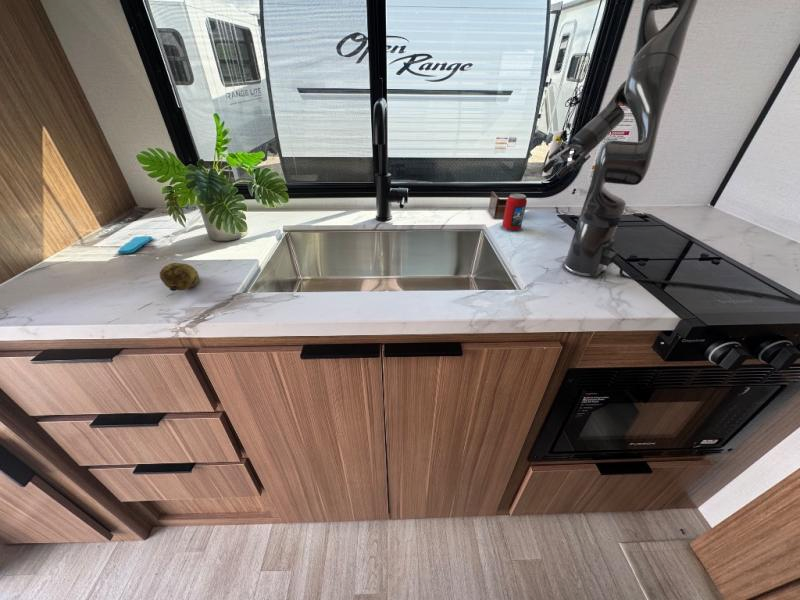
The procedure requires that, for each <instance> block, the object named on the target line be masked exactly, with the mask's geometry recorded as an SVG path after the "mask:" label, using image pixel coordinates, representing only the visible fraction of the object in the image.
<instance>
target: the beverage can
mask: <svg viewBox="0 0 800 600" xmlns="http://www.w3.org/2000/svg"><path fill="white" fill-rule="evenodd" d="M506 199H507V202H506V208H505V213H504V218H503V219H502V224H501V226H502V227H503V229H504V230H506V231H512V232H514V231H518V230H520V229H521V228H522V225H523V220H524V217H525V211H526V207H527V203H528V200H527V195H525V194H523V193H517V192H516V193H515V192H514V193H510V194H509V196H508V197H507V198H506Z"/></svg>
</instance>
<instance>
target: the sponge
mask: <svg viewBox="0 0 800 600" xmlns="http://www.w3.org/2000/svg"><path fill="white" fill-rule="evenodd" d="M152 240H153V236H150V235H149V236H148V235H145V236H135V237H133V238H132V239H130V240H129V241H128V242H126V243H125V244H123V245H122V246H120V248H119V249H118V251H117V252H118V254H119V255H122V254H123V255H124V254H133V253H135V252H136V251H137V250H139V249H140V248H142V247H143V246H145V244H148V243H149V242H150V241H152Z"/></svg>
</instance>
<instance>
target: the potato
mask: <svg viewBox="0 0 800 600" xmlns="http://www.w3.org/2000/svg"><path fill="white" fill-rule="evenodd" d="M159 278H160V281H161V282H162V283H163V285H165V287H167V288H168V289H169V290H170V291H171V292H176V291H186V290H187V289H190V288H193V287H195V286H196V285H197V284H198V283H199V279H200V276H199V272H198V271H197V269H196V268H194V267H193V266H192V265H190V264H188V263H181V262H171V263H168V264H166V265H164V266H163V267H162V269H160V271H159Z"/></svg>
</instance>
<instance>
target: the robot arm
mask: <svg viewBox="0 0 800 600" xmlns="http://www.w3.org/2000/svg"><path fill="white" fill-rule="evenodd" d="M698 2H699V0H642V4H641V9H640V14H639V18H638V27H637V32H636V38H635V46H634V51H633V55H632V58H631V62H630V66H629V68H628V72H627V77H626V78H627V79H626V80H624V81H623V82H622V83H621V84H620V85H619V86H618V88H617V89H616V91H615V93H614V94H613V96H612V97H611V98H610V100H609V102H608V103H607V104H606V105H605V107H604V108H603V109H602V110H600V112H599V113H597V114H596V116H595V117H593V118H592V119H591V120H590V121H588V122H587V123H586V124H585V125H584V126H583V127H582V128H581V129H580V130H579V131H577V133H576V134H575V135H574V136H573V137H572V138H571V139H570V144H568V145H567V146H565V145H564V144H561V145H559V146H558V147H557V148H556V149H555V150H554V151H553V152H552V153H551V154H549V156H548V160H549V161H548V162H547V163H546V164H545V165H544V166H543V167H542V168H541V170H542V172H543V173H544V174H547V173H548V172H549V171H550V170H551V169H552V168H553V167H555V165H557V164H559V163H560V164H562V163H566V165H564V166H563V167H561V169H560V170H559V171H558V172H557V173H556V177H557V178H558V179H560V180H561V179H563V177H565V176H566V175H567V174H569V172H571V171H573V170H574V171H578V170H579V169H580V168H581V167H582V166H583V165H584V164H585V163H586V162H587V161H588V160H589V159H590V158H591V155H590V154H591V152H592V151H594V149H595V148H596V147H597V146H598V145H600V143H602V142H603V141H604V140H605V139H606V138H607V136H608V135H609V134H610V133H612V131H613V130H615V129H616V127H618V126H619V125H620V124H621V123H622V122H623V120H624V119H625V111H624V110H623V108H622V107H621V105H622V106H624V107H626V108H628V109H629V110H630V112H631V114H632V116H633V118H634V121H635V124H636V129H637V130H636V131H637V141H624V140H608V141H606V142H604V144H603V145H602V146H601V148H600V150H599V152H598V153H597V154H598V155H597V157H596V161H595V165H594V168H593V172H592V176H591V180H590V184H589V186H588V190H587V194H586V196H585V199H584V202H583V205H582V208H581V211H580V215H579V217H578V219H577V223H576V227H575V230H574V233H573V237H572V239H571V242H570V245H569V249H568V252H567V255H566V258H565V261H564V263H563V268H564V269H565V270H566V271H568V272H569V273H571V274H574V275H578V276H582V277H590V278H593V279H594V278H596V277H597V276H598V275H600V273H602V272H603V270H604V269H605V266H606V267H608V266H610V265H611V264H612V263H614V264H615V265H617V266H618V268H619V271H618V274H619V276H621V277H623V278H627V279H631V280H635V281H641V282H651V283H658V284H666V285H676V286H677V285H678V286H687V287H688V286H689V287H690V286H691V287H697V288H706V289H715V290H723V291H729V292H736V293H742V294H748V295H749V294H750V295H756V296H760V297H765V298H766V297H767V298H772V299H777V300H782V301H788V302H792V303H797V304H800V299H796V298H791V297H786V296H782V295H775V294H771V293H766V292H759V291H754V290H747V289H740V288H733V287H726V286H720V285H718V286H717V285H711V284H703V283H702V284H701V283H694V282H693V283H692V282H685V281H684V282H683V281H673V280H662V279H661V280H660V279H655V278H642V277H633V276H629V275H626V274H625V273H624V272H623V271H624V266H623V265H622V264H621V263H620V262H619V261H618V260H616V256H617V255H618V252H616V251H613V250H612V247H613V245H614V243H615V240H614V237H615V235H616V231H617V229H618V226H619V223H620V221H621V220H622V219H621V218H622V216H623V214H624V211H625V209H626V205H627V203H626V201H625V200H624V199H623V198H621V197H620V196H618V195H616V194H614V193H612V192H610V191H609V189H607V188H606V187H605V184H606V183H607V184H615V185H625V186H637V185H639V184H640V183H641V182H643V180H644V179H645V177H646V176H647V174H648V171H649V168H650V166H651V162H652V159H653V155H654V151H655V146H656V143H657V137H658V133H659V129H660V124H661V120H662V117H663V113H664V111H665V107H666V104H667V101H668V98H669V95H670V92H671V89H672V86H673V83H674V81H675V77H676V73H677V70H678V66H679V64H680V60H681V56H682V52H683V49H684V45H685V42H686V37H687V34H688V30H689V27H690V24H691V21H692V18H693V15H694V13H695V10H696V8H697V5H698ZM671 9H676V10H675V12H674V13H673V14H672V16H671V17H670V19H669V20H668V21H667V22H666V24H664V26H662V28H661V29H660V30H659V27H658V24H657V22H656V11H665V10H671Z"/></svg>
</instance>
